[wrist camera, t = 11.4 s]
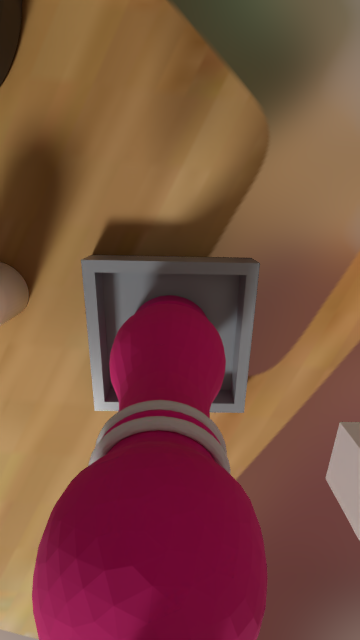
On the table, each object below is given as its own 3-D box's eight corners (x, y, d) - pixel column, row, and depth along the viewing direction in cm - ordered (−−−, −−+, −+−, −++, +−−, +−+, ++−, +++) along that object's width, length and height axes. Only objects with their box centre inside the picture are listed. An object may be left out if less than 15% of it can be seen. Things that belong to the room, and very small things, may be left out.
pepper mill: (167, 267, 21) (84, 674, 3) (236, 332, 23) (490, 863, 4) (104, 335, 23) (-225, 872, 4) (172, 390, 25) (149, 950, 6)
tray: (91, 254, 22) (81, 259, 19) (251, 257, 22) (259, 263, 19) (102, 392, 26) (94, 410, 23) (237, 394, 26) (243, 412, 23)
